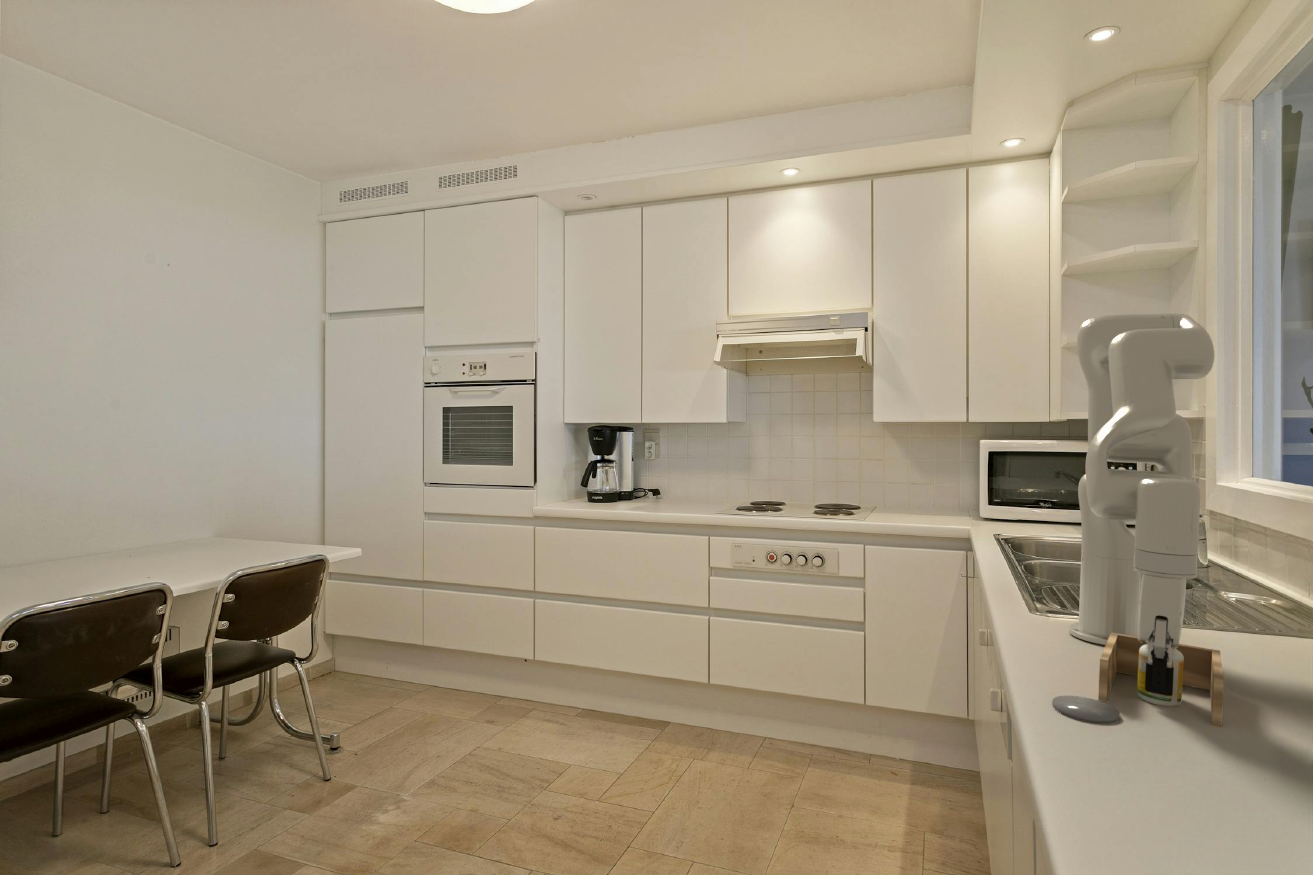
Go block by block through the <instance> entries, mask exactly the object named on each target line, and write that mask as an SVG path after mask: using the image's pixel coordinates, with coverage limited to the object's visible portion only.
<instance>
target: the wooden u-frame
mask: <svg viewBox="0 0 1313 875" xmlns="http://www.w3.org/2000/svg"><path fill="white" fill-rule="evenodd" d="M1146 644H1147V643H1146V641H1143V642H1142V643H1140V642H1139V641H1138V640H1137V637H1136V636H1130V635H1124V634H1118V633H1112V632H1111V634H1110V636H1109V639H1108V641H1107V643H1106V645H1104V648H1103V651H1102V653H1101V655H1100V658H1099V672H1098V673H1099V674H1098V695H1097V696H1098V699H1097V700H1098V701H1101V700H1102V701H1101V702H1106V701H1108V699H1109V696H1110V692H1111V689H1112V687H1113V683H1114V680H1115V677H1116V674H1117V673H1121V674H1126V675H1131V676H1136V677H1138V663H1139V649H1140V647H1141V646H1143V645H1146ZM1176 649H1177V650H1178V651H1180V652H1181V653H1182V654H1183V657H1184V665H1183V683H1182V686H1187V687H1192V688H1198V689H1202V690H1203V689H1204V690H1206V691H1207V690H1208V691H1209V694H1210V710H1211V711H1210V712H1211V725H1212V726H1216V727H1222V724H1223V722H1222V721H1223V720H1222V719H1223V702H1224V701H1223V699H1224V676H1223V675H1224V674H1223V663H1222V657H1221V650H1218V649H1213V648H1206V647H1200V646H1194V645H1190V644H1189V645H1188V644H1183V643H1182V644H1181V643H1179V646H1178V648H1176ZM1107 698H1108V699H1107Z"/></svg>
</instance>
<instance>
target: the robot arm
mask: <svg viewBox="0 0 1313 875" xmlns="http://www.w3.org/2000/svg"><path fill="white" fill-rule="evenodd" d="M1076 338H1077V339H1076V349H1077V356H1078V361H1079V364H1080V367H1081V369H1082V373H1083V375H1084V378H1085V381H1086V385H1087V390H1088V403H1087V405H1088V411H1087V413H1088V414H1087V417H1088V418H1087V426H1088V427H1087V444H1088V449H1087V452H1086V458H1085V466H1084V467H1085V474H1083V476H1081V478H1080V480H1079V483H1078V488H1077V494H1078V496H1077V497H1078V504H1079V511H1080V521H1081V545H1080V546H1081V548H1080V549H1081V550H1080V551H1081V555H1080V556H1081V558H1080V580H1079V583H1080V584H1079V602H1078V604H1079V605H1078V606H1079V607H1078V622H1075V623H1071V624H1070V625H1069V626H1068V632H1069V634H1070V635H1071V636H1073V637H1074V638H1077V639H1080V640H1082V641H1085V642H1088V643H1093V644H1097V645H1103V646H1106V643H1107V641H1108V639H1109V636H1110V634H1111V632H1112V633H1118V634H1124V635H1130V636H1136V637H1137V640H1138V641H1139V642H1140V643H1142V642H1143V641H1147V640H1148V639H1149V652H1148V663H1147V662H1146V675H1145V690H1146V691H1147V692H1151V693H1156V694H1161V695H1166V696H1172V694H1173V675H1174V667H1172V650H1173V648H1176V647H1178V645H1179V644H1180V640H1181V635H1182V630H1183V624H1184V616H1185V608H1186V606H1185V605H1186V591H1187V590H1186V588H1187V580H1190V579H1191V580H1193V579H1197V578H1198V560H1199V540H1200V538H1199V537H1200V534H1199V533H1200V513H1201V487H1200V485H1199V484H1198V483H1197V482H1195V481H1194V480H1193V438H1192V437H1193V436H1192V431H1191V427H1190V424H1189V423H1188V421H1187V420H1186V418H1185V417H1183V416H1182V415H1180V414H1178V413H1177V408H1176V406H1177V405H1176V401H1175V400H1176V399H1175V393H1174V392H1175V391H1174V384H1173V380H1199V379H1203V378H1205V377H1206V376H1207V375H1208V374H1209V373H1210V372H1211V371H1212V369H1213V367H1214V362H1215V348H1214V344H1213V340H1212V338H1211V335H1210V334H1209V332H1208V331H1207V330H1206V329H1205V327H1203V326H1202V325H1201V324H1200V323H1199V322H1197V321H1196V320H1195V319H1194V318H1192V317H1191V316H1190V315H1187V314H1184V313H1145V314H1144V313H1142V314H1137V313H1135V314H1134V313H1133V314H1132V313H1130V314H1127V313H1126V314H1109V315H1100V316H1095V317H1092V318H1089V319H1087V320H1085V321H1084V322H1083V323H1082V324H1081V325H1080V326H1079V329H1078V331H1077V337H1076ZM1108 462H1109V463H1110V462H1113V463H1128V464H1129V463H1130V464H1131V463H1133V464H1150V465H1151V464H1153V465H1155V466H1156V467H1157V470H1158V471H1154V470H1138V469H1137V470H1136V469H1119V468H1118V469H1116V468H1109V467H1108ZM1127 523H1135V524H1134V525H1135V526H1134V533H1133V532H1132V531H1131V530H1130V529H1129V528H1128V527H1127V525H1126V524H1127ZM1169 635H1170V644H1165V643H1166V641H1169ZM1153 639H1155V642H1152V641H1153ZM1153 648H1154V649H1153ZM1165 650H1168V652H1167V651H1165ZM1152 663H1153V664H1152Z"/></svg>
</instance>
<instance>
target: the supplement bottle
mask: <svg viewBox="0 0 1313 875" xmlns="http://www.w3.org/2000/svg"><path fill="white" fill-rule="evenodd" d="M1152 642H1155V639H1153V641H1152ZM1146 643H1147V644H1146V645H1143V646H1141V647H1140V649H1139V663H1138V676H1137V687H1136V688H1137V691H1136V694H1137V696H1138V698H1139V699H1141V700H1143V701H1144V702H1148V703H1149V704H1154V705H1158V706H1162V707H1177V706H1179V705H1181V703H1182V701H1183V700H1182V697H1183V685H1182V683H1183V665H1184V657H1183V654H1182V653H1181V652H1180V651H1178V650H1177V649H1176V648H1178V647H1176V648H1173V650H1172V667H1174V675H1173V694H1172V696H1166V695H1161V694H1156V693H1151V692H1147V691H1146V690H1145V675H1146V662H1147V663H1148V652H1149V639H1148V640H1147V641H1146ZM1165 644H1170V635H1169V641H1166V643H1165ZM1178 646H1179V645H1178ZM1153 649H1154V648H1153ZM1165 651H1167V652H1168V650H1165ZM1152 664H1153V663H1152Z"/></svg>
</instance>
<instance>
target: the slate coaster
mask: <svg viewBox="0 0 1313 875" xmlns="http://www.w3.org/2000/svg"><path fill="white" fill-rule="evenodd" d="M1051 702H1052V704H1051V705H1053V706H1052V708H1053V707H1054V708H1055V709H1054V708H1053V709H1054V710H1055V711H1057V712H1058V711H1059V712H1058V713H1060V712H1061V713H1060V714H1062V715H1064V716H1066V715H1067V716H1066V717H1069V718H1072V719H1075V720H1078V719H1079V720H1078V721H1084V722H1089V723H1094V724H1113V723H1117V722H1118V721H1119V720H1120V711H1119V710H1118V709H1117V708H1116V707H1114V706H1112V705H1111V704H1108V703H1105V701H1101V700H1098V699H1094V698H1090V697H1086V696H1085V697H1084V696H1080V695H1079V696H1078V695H1058V696H1055V697H1054V698H1052V700H1051Z"/></svg>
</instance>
